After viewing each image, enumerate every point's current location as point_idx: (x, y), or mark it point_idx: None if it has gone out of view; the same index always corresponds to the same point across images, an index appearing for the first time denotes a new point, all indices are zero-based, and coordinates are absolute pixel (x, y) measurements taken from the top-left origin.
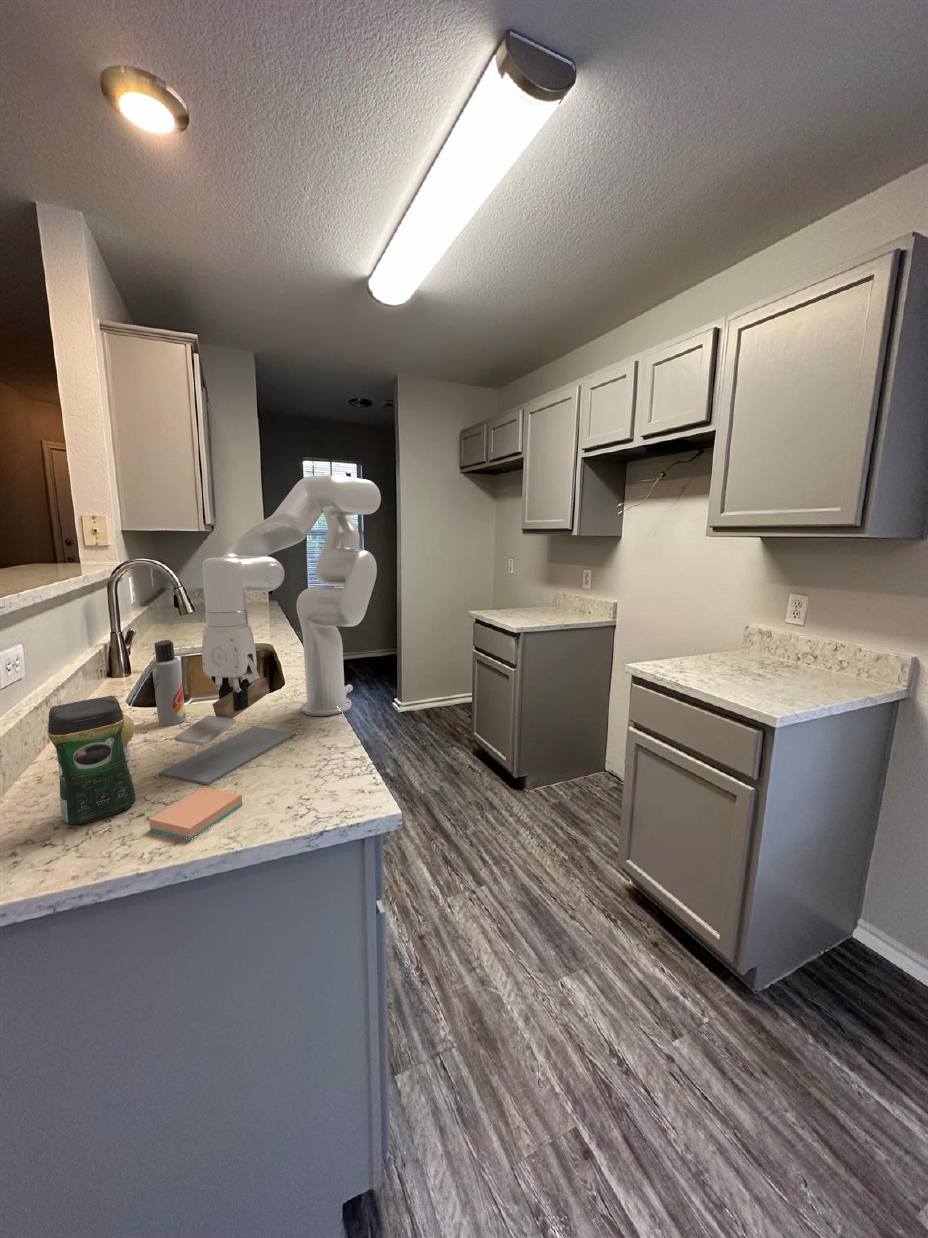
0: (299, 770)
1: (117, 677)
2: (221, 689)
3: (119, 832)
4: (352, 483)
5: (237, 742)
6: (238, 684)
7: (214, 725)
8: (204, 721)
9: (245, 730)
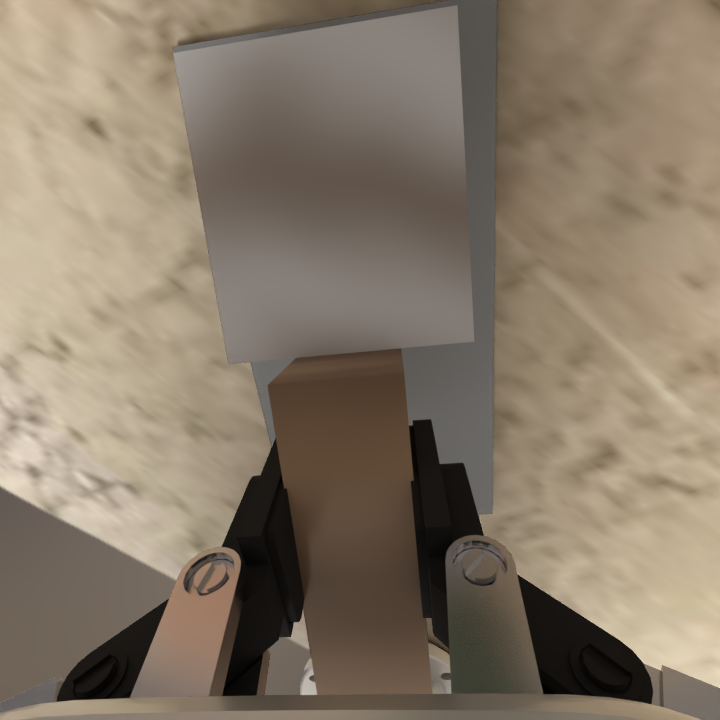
0: (16, 323)
1: None
2: (457, 557)
3: None
4: None
5: (423, 390)
6: (162, 631)
7: (296, 253)
8: (423, 268)
9: (490, 477)
